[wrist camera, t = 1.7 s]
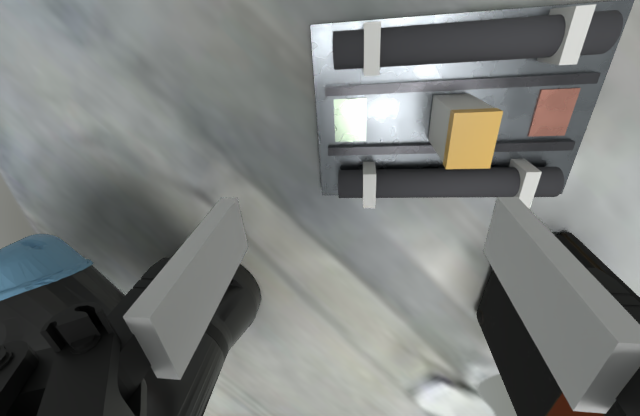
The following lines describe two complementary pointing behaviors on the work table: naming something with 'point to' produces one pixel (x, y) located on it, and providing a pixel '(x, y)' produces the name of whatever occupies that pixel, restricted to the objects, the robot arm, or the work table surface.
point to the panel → (452, 78)
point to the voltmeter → (531, 346)
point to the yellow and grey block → (464, 131)
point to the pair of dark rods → (470, 46)
